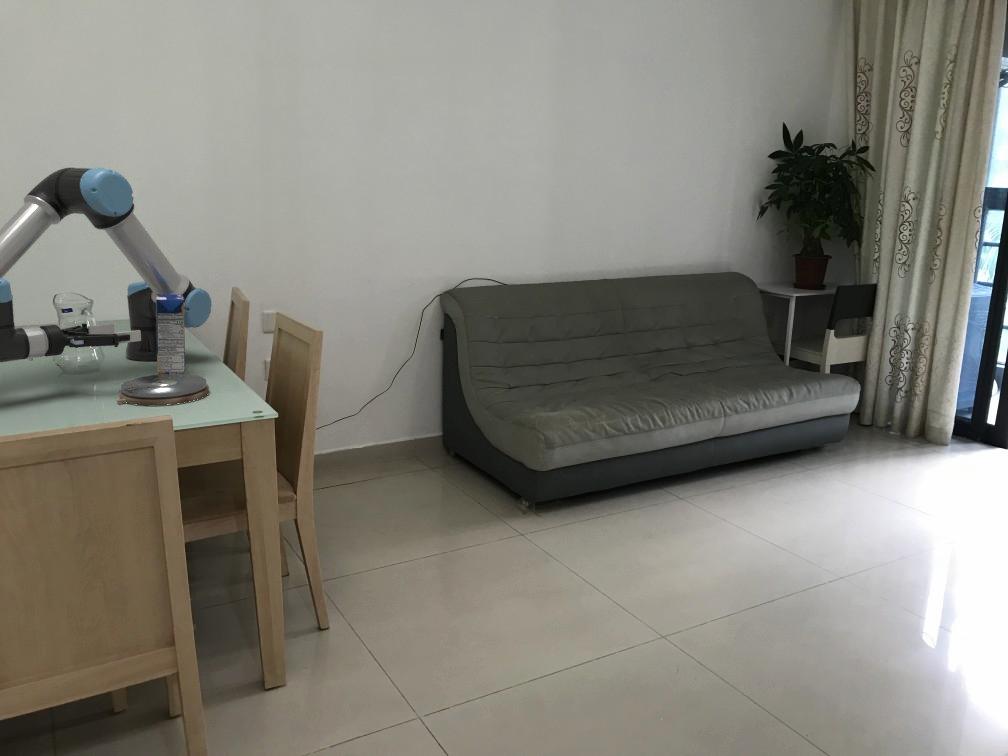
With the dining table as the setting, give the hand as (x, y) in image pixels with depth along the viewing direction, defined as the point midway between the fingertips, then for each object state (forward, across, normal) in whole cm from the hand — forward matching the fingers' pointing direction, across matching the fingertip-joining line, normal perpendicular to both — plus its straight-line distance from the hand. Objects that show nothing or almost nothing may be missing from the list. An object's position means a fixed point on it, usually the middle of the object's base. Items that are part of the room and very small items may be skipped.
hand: (126, 332), depth 214 cm
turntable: (-1, +18, -12) cm, 22 cm away
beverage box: (+12, 0, -14) cm, 18 cm away
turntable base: (0, +18, -14) cm, 23 cm away
